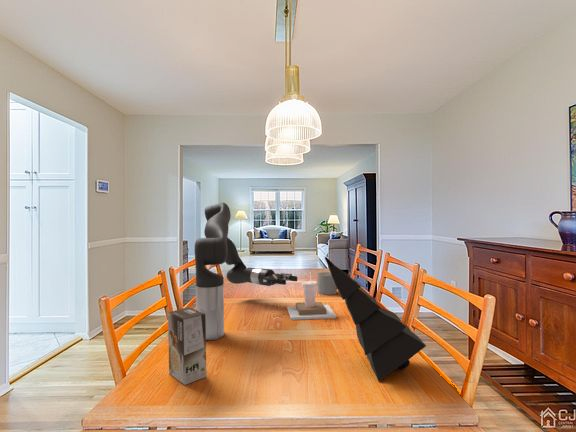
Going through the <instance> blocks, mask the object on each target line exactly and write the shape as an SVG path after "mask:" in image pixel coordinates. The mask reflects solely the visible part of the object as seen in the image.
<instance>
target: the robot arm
mask: <svg viewBox="0 0 576 432" xmlns="http://www.w3.org/2000/svg"><path fill="white" fill-rule="evenodd" d="M204 216H205V219H206V224H205V226H204V230H203V231H204V233H203V234H204V237H200V238H197V239H195V240H196V241H195V243H194V263H195V310H197V311H199V312H202V313H205V317H206V341H207V340H208V341H210V340H219V339H220V338H222V337H223V336H224V335H225V306H224V305H225V298H224V290H225V289H224V286H225V285H224V280H225V279H224V276H223V275H222V274H219V273H216V272H213V271H211V270H209V269H208V268H207V266H215V265H216V266H218V265H222V264H226V265H227V266H232V265H233V267H232V268H230V269H229V270H228V271H227V273H226V279H227V281H229V283H232V284H234V285H236V284H237V285H238V284H247V283H250V284H255V285H259V286H265V287H271V286H275V285H281V286H282V285H283V286H284V285H285V286H286V285H287V282H298V276H297V275H293V274H292V273H284V272H280V273H278V272H275V271H274V270H273V269H270V268H263V267H261V268H260V267H256V268H255V267H247V266H246V264H245V263H244V262H243V260H242V259H241V257H240V255H239V252H238V250H237V249H238V248H237V247H236V244H235V243H234V241H232V240H231V239H230V238H229V237H228V235H229V223H230V220H231V216H232V214H231V209H230V207H229V206H228V204H227V203H226V202H218V203H214V204H211V205H208V206H206V207H205V208H204Z"/></svg>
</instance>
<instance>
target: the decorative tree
mask: <svg viewBox="0 0 576 432" xmlns="http://www.w3.org/2000/svg"><path fill="white" fill-rule="evenodd" d="M324 260H325V262H326V264H327V266H328V271H329V272H330V273H331V275H332V277H333V280H334V282H335V285H336V287H337V292H338V294H339V296H340V298H341V300H344V302H345V303H344V304H345V305H346V309H347V311H348V313H349V315H350V316H351V319H352V322H353V324H354V325H355V331H356V337H357V339H358V342H359V344H360V347H361V348H362V350H363V352H364V356H366V359H368V362H369V364H370V367H371V370H372V371H373V374H374V375H375V377H376V380H377V381H378V382H380V381H382V379H384V378H386V377H387V376H388V375H389V374H391V373H393V372H394V371H395V370H397V369H398V370H401V371H402V370H404V369H406V368H408V366H409V365H410V359H412V358H413V357H414V356H415V355H416V354H418V353H419V352H421V350H423V349H424V348H425V347H427V345H426V344H425V342H424V341H423V340H422V339H421V338H420V337H419V336H418V335H417V334H416V333H414V332H413V331H411V330H412V329H410V327H409V326H408V325H407V324H404V323H403V322H402V320H401V319H400V318H399V316H398V315H397V314H396V313H394V312H393V311H391V310H389V309H385V308H384V307H381V306H380V305H379V304H378V301H377V299H376V298H375V297H373V296H371V294H368V293H367V292H366V291H364V290H362V289H361V288H362V286H361V285H360V284H359V283H358V282H357V281H356V280H354V278H352V277H351V276H350V275H348V274H347V272H345V271H344V270H343V269H341V268H339V267H337V266H336V265H335V263H333V262H332V261H331V260H330V259H329V258H328V257H327V256H324Z"/></svg>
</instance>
